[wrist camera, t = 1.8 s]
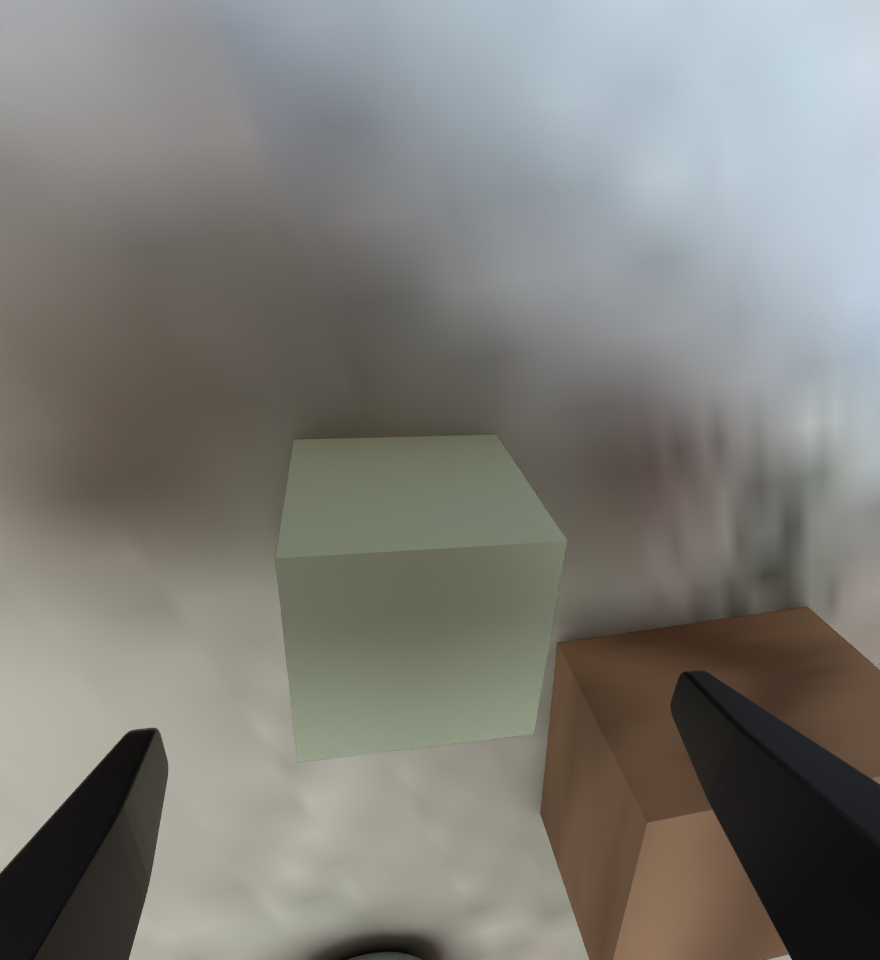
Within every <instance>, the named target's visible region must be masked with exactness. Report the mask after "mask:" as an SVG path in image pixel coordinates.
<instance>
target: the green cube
mask: <svg viewBox="0 0 880 960" xmlns="http://www.w3.org/2000/svg"><path fill="white" fill-rule="evenodd" d="M566 547H567V539H566V538H565V536H564V535H563V534H562V532H561V531H560V529H559V528H558V526H557V525H556V523H555V522H554V520H553V519H552V517H551V516H550V514H549V513H548V511H547V510H546V508H545V507H544V505H543V504H542V502H541V501H540V499H539V498H538V496H537V495H536V493H535V492H534V490H533V489H532V487H531V486H530V484H529V483H528V481H527V480H526V478H525V477H524V475H523V474H522V472H521V471H520V469H519V468H518V466H517V465H516V463H515V462H514V460H513V459H512V457H511V456H510V454H509V453H508V451H507V450H506V448H505V447H504V445H503V444H502V442H501V441H500V439H499V438H498V436H497V435H496V434H491V435H453V436H414V437H375V438H336V439H297V440H294V441H293V447H292V454H291V460H290V467H289V473H288V480H287V486H286V493H285V499H284V506H283V512H282V519H281V525H280V532H279V538H278V545H277V551H276V558H275V559H276V569H277V578H278V587H279V596H280V606H281V615H282V624H283V633H284V643H285V652H286V661H287V670H288V680H289V689H290V698H291V707H292V717H293V726H294V735H295V744H296V754H297V763H298V762H306V761H315V760H323V759H331V758H339V757H348V756H356V755H364V754H373V753H381V752H389V751H398V750H406V749H414V748H423V747H431V746H439V745H447V744H456V743H464V742H472V741H481V740H489V739H497V738H506V737H514V736H522V735H531V734H534V729H535V724H536V718H537V712H538V706H539V701H540V695H541V689H542V684H543V678H544V672H545V667H546V661H547V655H548V649H549V644H550V638H551V632H552V627H553V621H554V615H555V609H556V604H557V598H558V592H559V587H560V581H561V575H562V570H563V564H564V558H565V552H566Z"/></svg>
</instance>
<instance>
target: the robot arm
mask: <svg viewBox="0 0 880 960" xmlns="http://www.w3.org/2000/svg"><path fill="white" fill-rule="evenodd" d="M670 709H671V714H672V717H673V720H674V722H675V725H676V727H677V729H678V732H679V734H680V737H681V739H682V741H683V744H684V746H685V749H686V751H687V753H688V756H689V758H690V761H691V763H692V765H693V768H694V770H695V773H696V775H697V777H698V780H699V782H700V785H701V787H702V789H703V791H704V793H705V796H706V798H707V800H708V802H709V804H710V806H711V808H712V810H713V812H714V814H715V816H716V817H717V819H718V821H719V823H720V825H721V827H722V829H723V831H724V833H725V834H726V836H727V838H728V840H729V842H730V844H731V846H732V848H733V850H734V851H735V853H736V855H737V857H738V859H739V861H740V863H741V865H742V867H743V868H744V870H745V872H746V874H747V876H748V878H749V880H750V882H751V884H752V885H753V887H754V889H755V891H756V893H757V895H758V897H759V899H760V901H761V902H762V904H763V906H764V908H765V910H766V912H767V914H768V916H769V917H770V919H771V921H772V923H773V925H774V927H775V929H776V931H777V933H778V934H779V936H780V938H781V940H782V942H783V944H784V946H785V948H786V950H787V951H788V953H789V955H790V957H791V959H792V960H880V784H879V783H878V782H876V781H875V780H873V779H871V778H870V777H868V776H867V775H865V774H864V773H862V772H861V771H859V770H858V769H856V768H855V767H853V766H851V765H850V764H848V763H847V762H845V761H844V760H842V759H841V758H839V757H838V756H836V755H835V754H833V753H831V752H830V751H828V750H827V749H825V748H824V747H822V746H821V745H819V744H818V743H816V742H815V741H813V740H811V739H810V738H808V737H807V736H805V735H804V734H802V733H801V732H799V731H798V730H796V729H795V728H793V727H791V726H790V725H788V724H787V723H785V722H784V721H782V720H781V719H779V718H778V717H776V716H775V715H773V714H771V713H770V712H768V711H767V710H765V709H764V708H762V707H761V706H759V705H758V704H756V703H755V702H753V701H751V700H750V699H748V698H747V697H745V696H744V695H742V694H741V693H739V692H738V691H736V690H735V689H733V688H731V687H730V686H728V685H727V684H725V683H724V682H722V681H721V680H719V679H718V678H716V677H715V676H713V675H711V674H710V673H708V672H706V671H704V670H690V671H684V672H682V673H681V674H680V675H679V677H678V680H677V683H676V686H675V689H674V692H673V695H672V698H671V702H670ZM167 778H168V761H167V757H166V753H165V749H164V745H163V742H162V738H161V734H160V732H159V730H158V729H156V728H146V729H136V730H131V731H129V732H128V733H127V734H125V735H124V736H123V738H122V739H121V740H120V741H119V742H118V743H117V744H116V745H115V746H114V748H113V749H112V750H111V751H110V752H109V753H108V754H107V755H106V756H105V758H104V759H103V760H102V761H101V762H100V763H99V764H98V765H97V766H96V768H95V769H94V770H93V771H92V772H91V773H90V774H89V775H88V776H87V777H86V779H85V780H84V781H83V782H82V783H81V784H80V785H79V786H78V787H77V789H76V790H75V791H74V792H73V793H72V794H71V795H70V796H69V797H68V799H67V800H66V801H65V802H64V803H63V804H62V805H61V806H60V807H59V809H58V810H57V811H56V812H55V813H54V814H53V815H52V816H51V817H50V819H49V820H48V821H47V822H46V823H45V824H44V825H43V826H42V827H41V829H40V830H39V831H38V832H37V833H36V834H35V835H34V836H33V837H32V838H31V840H30V841H29V842H28V843H27V844H26V845H25V846H24V847H23V848H22V850H21V851H20V852H19V853H18V854H17V855H16V856H15V857H14V858H13V860H12V861H11V862H10V863H9V864H8V865H7V866H6V867H5V868H4V870H3V871H2V872H1V873H0V960H129V956H130V953H131V949H132V945H133V942H134V938H135V935H136V931H137V927H138V924H139V920H140V917H141V913H142V909H143V906H144V902H145V898H146V894H147V890H148V886H149V882H150V877H151V872H152V866H153V861H154V855H155V849H156V843H157V837H158V831H159V825H160V819H161V813H162V808H163V802H164V796H165V790H166V784H167Z"/></svg>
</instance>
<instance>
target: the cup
mask: <svg viewBox="0 0 880 960" xmlns="http://www.w3.org/2000/svg"><path fill="white" fill-rule="evenodd" d="M347 960H422V959H420V958H418V957H416V956H414V955H411V954H406V953H401V952H375V953H368V954H363V955H359V956H356V957H352V958H350V959H347Z"/></svg>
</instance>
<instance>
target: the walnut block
mask: <svg viewBox="0 0 880 960" xmlns="http://www.w3.org/2000/svg"><path fill="white" fill-rule="evenodd" d="M690 670H704V671H706V672H708V673H710V674H711V675H713V676H715V677H716V678H718V679H719V680H721V681H722V682H724V683H725V684H727V685H728V686H730V687H731V688H733V689H735V690H736V691H738V692H739V693H741V694H742V695H744V696H745V697H747V698H748V699H750V700H751V701H753V702H755V703H756V704H758V705H759V706H761V707H762V708H764V709H765V710H767V711H768V712H770V713H771V714H773V715H775V716H776V717H778V718H779V719H781V720H782V721H784V722H785V723H787V724H788V725H790V726H791V727H793V728H795V729H796V730H798V731H799V732H801V733H802V734H804V735H805V736H807V737H808V738H810V739H811V740H813V741H815V742H816V743H818V744H819V745H821V746H822V747H824V748H825V749H827V750H828V751H830V752H831V753H833V754H835V755H836V756H838V757H839V758H841V759H842V760H844V761H845V762H847V763H848V764H850V765H851V766H853V767H855V768H856V769H858V770H859V771H861V772H862V773H864V774H865V775H867V776H868V777H870V778H871V779H873V780H875V781H876V782H878V783H879V784H880V670H879V669H878V668H877V667H876V666H874V665H873V664H872V663H871V662H870V661H869V660H868V659H866V658H865V657H864V656H863V655H862V654H861V653H860V652H858V651H857V650H856V649H855V648H854V647H853V646H852V645H850V644H849V643H848V642H847V641H846V640H845V639H844V638H842V637H841V636H840V635H839V634H838V633H837V632H836V631H834V630H833V629H832V628H831V627H830V626H829V625H828V624H826V623H825V622H824V621H823V620H822V619H821V618H820V617H818V616H817V615H816V614H815V613H814V612H813V611H812V610H810V609H809V608H808V607H802V608H795V609H788V610H781V611H774V612H767V613H761V614H754V615H747V616H740V617H733V618H726V619H719V620H713V621H706V622H699V623H692V624H685V625H678V626H672V627H665V628H658V629H651V630H644V631H637V632H630V633H624V634H617V635H610V636H603V637H596V638H589V639H583V640H576V641H569V642H562V643H557V653H556V663H555V673H554V683H553V693H552V703H551V713H550V723H549V733H548V743H547V753H546V763H545V773H544V783H543V793H542V803H541V813H540V814H541V817H542V820H543V823H544V826H545V829H546V832H547V835H548V838H549V841H550V844H551V847H552V850H553V853H554V856H555V859H556V862H557V865H558V868H559V871H560V874H561V876H562V879H563V882H564V885H565V888H566V891H567V894H568V897H569V900H570V903H571V906H572V909H573V912H574V915H575V918H576V921H577V924H578V927H579V930H580V933H581V936H582V939H583V942H584V945H585V948H586V951H587V954H588V957H589V960H767V959H771V958H775V957H779V956H784V955H788V954H789V953H788V951H787V950H786V948H785V946H784V944H783V942H782V940H781V938H780V936H779V934H778V933H777V931H776V929H775V927H774V925H773V923H772V921H771V919H770V917H769V916H768V914H767V912H766V910H765V908H764V906H763V904H762V902H761V901H760V899H759V897H758V895H757V893H756V891H755V889H754V887H753V885H752V884H751V882H750V880H749V878H748V876H747V874H746V872H745V870H744V868H743V867H742V865H741V863H740V861H739V859H738V857H737V855H736V853H735V851H734V850H733V848H732V846H731V844H730V842H729V840H728V838H727V836H726V834H725V833H724V831H723V829H722V827H721V825H720V823H719V821H718V819H717V817H716V816H715V814H714V812H713V810H712V808H711V806H710V804H709V802H708V800H707V798H706V796H705V793H704V791H703V789H702V787H701V785H700V782H699V780H698V777H697V775H696V773H695V770H694V768H693V765H692V763H691V761H690V758H689V756H688V753H687V751H686V749H685V746H684V744H683V741H682V739H681V737H680V734H679V732H678V729H677V727H676V725H675V722H674V720H673V717H672V714H671V709H670V702H671V698H672V695H673V692H674V689H675V686H676V683H677V680H678V677H679V675H680V674H681V673H682V672H684V671H690Z"/></svg>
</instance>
